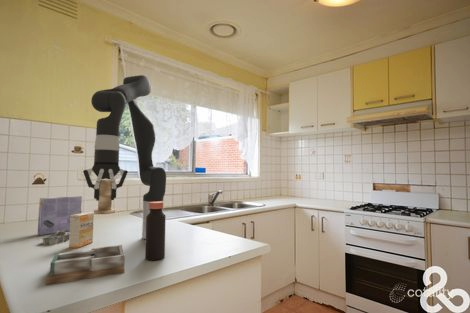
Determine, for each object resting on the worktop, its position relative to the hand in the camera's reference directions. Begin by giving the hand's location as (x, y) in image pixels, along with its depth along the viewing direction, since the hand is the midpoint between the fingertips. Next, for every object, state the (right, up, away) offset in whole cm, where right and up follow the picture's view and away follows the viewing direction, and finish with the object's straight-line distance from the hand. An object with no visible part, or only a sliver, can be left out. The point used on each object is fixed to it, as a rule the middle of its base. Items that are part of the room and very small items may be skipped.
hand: (105, 199), depth 88 cm
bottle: (+15, -22, +7) cm, 28 cm away
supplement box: (-21, -23, +22) cm, 38 cm away
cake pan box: (-45, -24, +46) cm, 69 cm away
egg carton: (-35, -23, +28) cm, 50 cm away
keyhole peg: (0, -4, 0) cm, 4 cm away
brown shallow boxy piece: (-3, -21, -5) cm, 22 cm away
